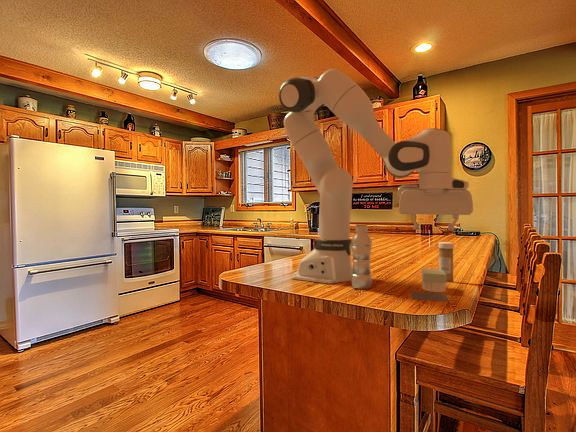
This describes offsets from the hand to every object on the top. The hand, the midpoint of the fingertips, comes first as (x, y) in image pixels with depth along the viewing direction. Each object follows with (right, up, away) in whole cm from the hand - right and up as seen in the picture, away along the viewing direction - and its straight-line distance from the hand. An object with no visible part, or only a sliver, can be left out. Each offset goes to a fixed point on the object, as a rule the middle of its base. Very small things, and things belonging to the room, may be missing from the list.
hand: (433, 229), depth 94 cm
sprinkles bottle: (+10, -18, +12) cm, 24 cm away
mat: (-5, -19, -7) cm, 21 cm away
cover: (0, -15, 0) cm, 15 cm away
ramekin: (0, -19, 0) cm, 19 cm away
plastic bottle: (-21, -19, +4) cm, 28 cm away
